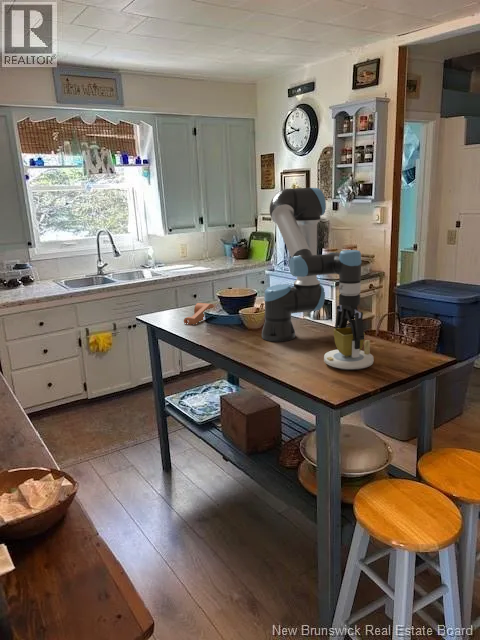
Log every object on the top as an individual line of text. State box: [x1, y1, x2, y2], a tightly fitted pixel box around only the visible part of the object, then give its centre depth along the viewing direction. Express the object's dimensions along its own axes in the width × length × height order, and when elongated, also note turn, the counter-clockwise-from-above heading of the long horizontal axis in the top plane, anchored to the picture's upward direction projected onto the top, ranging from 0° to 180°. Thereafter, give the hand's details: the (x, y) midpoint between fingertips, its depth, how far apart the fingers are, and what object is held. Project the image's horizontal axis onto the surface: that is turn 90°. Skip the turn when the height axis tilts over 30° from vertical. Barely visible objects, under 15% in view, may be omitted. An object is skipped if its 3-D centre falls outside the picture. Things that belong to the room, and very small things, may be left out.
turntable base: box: [333, 367, 364, 371], centre depth 178 cm, size 13×13×1 cm
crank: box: [183, 302, 215, 325], centre depth 250 cm, size 20×8×8 cm, turn 153°
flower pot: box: [332, 326, 366, 356], centre depth 176 cm, size 9×9×9 cm
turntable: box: [323, 339, 375, 370], centre depth 177 cm, size 18×18×7 cm
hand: (348, 353), depth 177 cm, fingers closed on flower pot, 9 cm apart
